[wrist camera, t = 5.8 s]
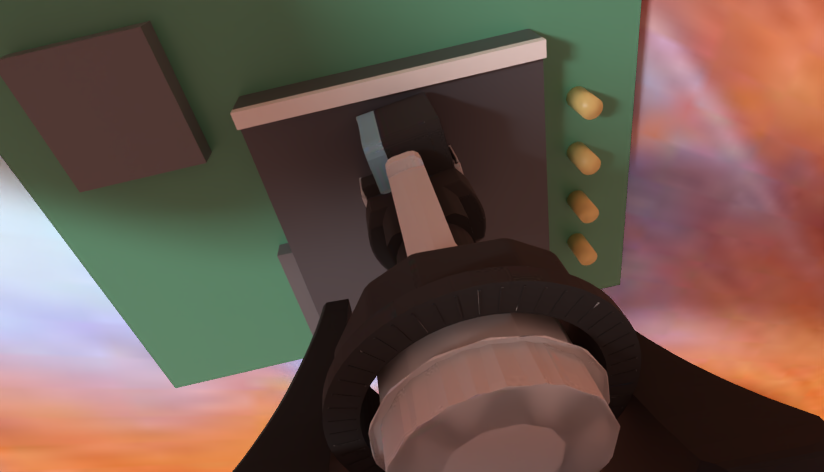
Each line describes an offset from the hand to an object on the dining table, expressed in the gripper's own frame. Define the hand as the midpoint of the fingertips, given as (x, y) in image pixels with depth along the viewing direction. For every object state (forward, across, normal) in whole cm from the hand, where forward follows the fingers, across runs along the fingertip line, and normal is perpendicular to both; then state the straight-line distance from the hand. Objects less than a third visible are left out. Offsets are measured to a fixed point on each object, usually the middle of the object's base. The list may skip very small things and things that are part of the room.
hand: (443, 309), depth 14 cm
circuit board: (+6, +2, -3) cm, 7 cm away
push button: (+4, 0, -2) cm, 5 cm away
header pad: (+5, 0, 0) cm, 5 cm away
